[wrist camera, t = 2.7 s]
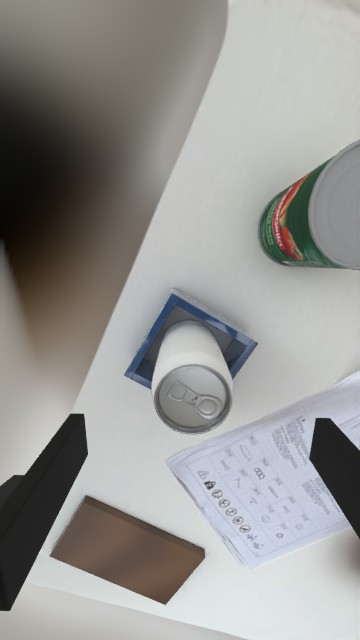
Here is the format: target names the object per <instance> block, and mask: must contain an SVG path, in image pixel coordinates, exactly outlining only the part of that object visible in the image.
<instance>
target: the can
mask: <svg viewBox="0 0 360 640" xmlns="http://www.w3.org/2000/svg"><path fill="white" fill-rule="evenodd" d="M151 390H152V397H153V400H154V405H155V409H156V412H157V414H158V416H159V417H160V419H161V420H162V421H163V422H164V423H165V424H166V425H167V426H168V427H170V428H171V429H173V430H175V431H177V432H180V433H184V434H202V433H206V432H208V431H211V430H213V429H215V428H216V427H218V426H219V425H220V424H221V423H222V422H223V421H224V420H225V419H226V417H227V416H228V414H229V412H230V409H231V405H232V395H233V382H232V378H231V375H230V372H229V369H228V367H227V364H226V362H225V360H224V357H223V355H222V352H221V350H220V348H219V346H218V343H217V341H216V339H215V337H214V335H213V333H212V331H211V330H210V329H209V328H208V327H207V326H206V325H204V324H203V323H201V322H198V321H195V320H183V321H180V322H177V323H175V324H174V325H172V326H171V327H170V328H169V329H168V330H167V331H166V333H165V335H164V337H163V340H162V343H161V347H160V350H159V354H158V358H157V362H156V366H155V370H154V374H153V379H152V387H151Z"/></svg>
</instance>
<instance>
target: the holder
mask: <svg viewBox="0 0 360 640" xmlns="http://www.w3.org/2000/svg"><path fill="white" fill-rule="evenodd" d="M175 304H176V305H178V306H179V307H181V308H183V309H185V310H186V311H188V312H190V313H191V314H193V315H195V316H197V317H198V318H200V319H202V320H203V321H205V322H207V323H209V324H210V325H212V326H214V327H216V328H217V329H219V330H221V331H222V332H224V333H226V334H228V335H229V336H231V337H233V338H234V339H233V341H232V342H231V344H230V345H229V347H228V348H227V350H226V351H225V353H224V354H223V357H224V360H225V362H226V364H227V367H228V369H229V372H230V375H231V378H232V380H233V378H234V377H235V376H236V374H237V373H238V371H239V370H240V369H241V367H242V366H243V364H244V363H245V361H246V360H247V359H248V357H249V356H250V354H251V353H252V351H253V350H254V349H255V347H256V346H257V344H258V343H257V342H256V340H255V339H254V338H253V337H252V336H251V335H250V334H249V333H248V332H247V331H246V330H245V329H243V328H241V327H239V326H238V325H236V324H234V323H233V322H231V321H229V320H228V319H226V318H224V317H222V316H221V315H219V314H217V313H216V312H214V311H212V310H211V309H209V308H207V307H205V306H204V305H202V304H200V303H199V302H197V301H195V300H194V299H192V298H190V297H188V296H187V295H185V294H183V293H182V292H179V291H178V290H177V289H175V288H173V290H172V291H171V293H170V295H169V297H168V298H167V300H166V302H165V303H164V305H163V307H162V309H161V310H160V312H159V314H158V316H157V317H156V319H155V321H154V322H153V324H152V326H151V328H150V329H149V331H148V333H147V335H146V336H145V338H144V340H143V341H142V343H141V345H140V347H139V348H138V350H137V352H136V354H135V355H134V357H133V359H132V361H131V363H130V365H129V367H128V368H127V370H126V372H125V374H124V375H125V376H126V377H128V378H130V379H132V380H134V381H136V382H138V383H140V384H142V385H144V386H145V387H147V388H149V389H151V387H152V379H153V374H154V370H155V366H156V364H154V363H153V362H151V361H149V360H147V359H145V358H143V357H144V355H145V354H146V352H147V350H148V349H149V347H150V345H151V344H152V342H153V340H154V339H155V337H156V335H157V333H158V332H159V330H160V328H161V327H162V325H163V323H164V322H165V320H166V318H167V316H168V315H169V313H170V311H171V310H172V308H173V306H174V305H175Z"/></svg>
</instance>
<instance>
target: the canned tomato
mask: <svg viewBox="0 0 360 640" xmlns="http://www.w3.org/2000/svg"><path fill="white" fill-rule="evenodd" d="M258 239H259V242H260V245H261V247H262V249H263V251H264V253H265V254H266V255H267V256H268V257H269V258H270V259H271V260H273V261H274V262H276V263H278V264H281V265H285V266H302V267H320V268H341V269H353V270H360V140H358V141H356V142H353V143H352V144H350V145H349V146H347V147H346V148H344V149H343V150H341V151H340V152H339V153H338V154H337V155H335V156H334V157H332V158H331V159H329V160H328V161H326V162H325V163H323V164H322V165H320V166H319V167H318V168H316V169H315V170H313V171H312V172H310V173H309V174H307V175H306V176H304V177H303V178H302V179H300V180H299V181H297V182H296V183H294V184H293V185H291V186H290V187H288V188H287V189H286V190H284V191H283V192H281V193H279V194H278V195H276V196H275V197H274V198H273V199H272V200H271V201H270V202H269V203H268V204H267V206H266V207H265V208H264V210H263V212H262V214H261V217H260V220H259V224H258Z"/></svg>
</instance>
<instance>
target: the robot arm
mask: <svg viewBox="0 0 360 640" xmlns="http://www.w3.org/2000/svg"><path fill="white" fill-rule="evenodd" d="M87 455H88V449H87V439H86V429H85V419H84V414H70V415H69V417H68V418H67V419H66V421H65V422H64V423H63V425H62V426H61V427H60V429H59V430H58V431H57V433H56V434H55V435H54V437H53V438H52V439H51V441H50V442H49V443H48V445H47V446H46V447H45V449H44V450H43V451H42V453H41V454H40V455H39V457H38V458H37V459H36V461H35V462H34V463H33V465H32V466H31V468H30V469H29V470H28V471H27V473H26V474H25V475H14V476H12V477H11V478H10V479H9V480H7V481H6V482H5V483H4V484H3V485H1V486H0V611H10V610H11V608H12V605H13V603H14V601H15V599H16V597H17V596H18V594H19V592H20V589H21V588H22V585H23V584H24V582H25V580H26V578H27V576H28V574H29V572H30V570H31V568H32V566H33V564H34V562H35V560H36V558H37V556H38V553H39V551H40V549H41V547H42V545H43V543H44V541H45V539H46V537H47V535H48V533H49V531H50V529H51V527H52V525H53V523H54V521H55V519H56V517H57V515H58V513H59V511H60V509H61V507H62V505H63V503H64V501H65V499H66V497H67V495H68V493H69V491H70V489H71V487H72V485H73V483H74V481H75V479H76V477H77V475H78V473H79V471H80V469H81V467H82V465H83V463H84V461H85V459H86V457H87ZM309 459H310V461H311V462H312V464H313V466H314V467H315V469H316V470H317V472H318V473H319V475H320V477H321V478H322V480H323V481H324V483H325V485H326V486H327V488H328V489H329V491H330V492H331V494H332V496H333V497H334V499H335V500H336V502H337V504H338V505H339V507H340V508H341V510H342V512H343V513H344V515H345V516H346V518H347V519H348V521H349V523H350V524H351V526H352V527H353V529H354V531H355V532H356V534H357V535H358V537H359V538H360V450H359V449H358V448H357V447H356V446H355V445H354V444H353V443H352V442H351V441H350V440H349V439H348V437H347V436H346V435H345V434H344V433H343V432H342V431H341V430H340V429H339V428H338V427H337V426H336V424H335V423H334V422H333V421H332V420H331V419H330V418H316V421H315V427H314V433H313V439H312V445H311V452H310V458H309Z"/></svg>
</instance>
